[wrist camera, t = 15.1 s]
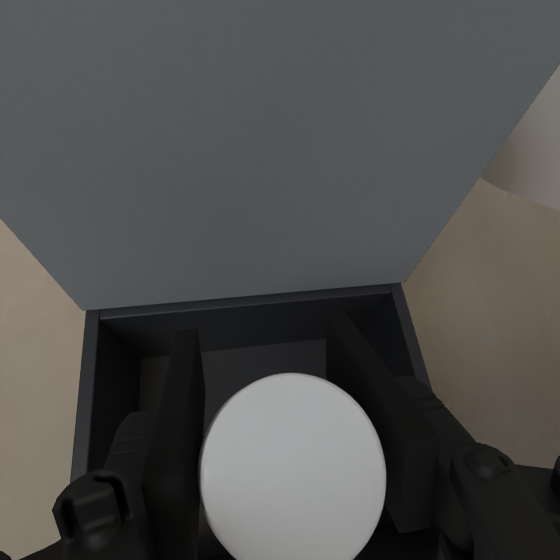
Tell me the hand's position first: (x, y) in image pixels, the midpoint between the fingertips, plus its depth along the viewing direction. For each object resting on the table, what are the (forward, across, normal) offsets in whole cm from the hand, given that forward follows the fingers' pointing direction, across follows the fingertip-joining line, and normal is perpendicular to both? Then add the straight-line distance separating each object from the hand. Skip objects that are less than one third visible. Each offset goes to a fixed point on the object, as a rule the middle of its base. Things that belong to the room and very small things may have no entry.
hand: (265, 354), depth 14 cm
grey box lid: (+3, 0, +5) cm, 6 cm away
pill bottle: (0, 0, -5) cm, 5 cm away
